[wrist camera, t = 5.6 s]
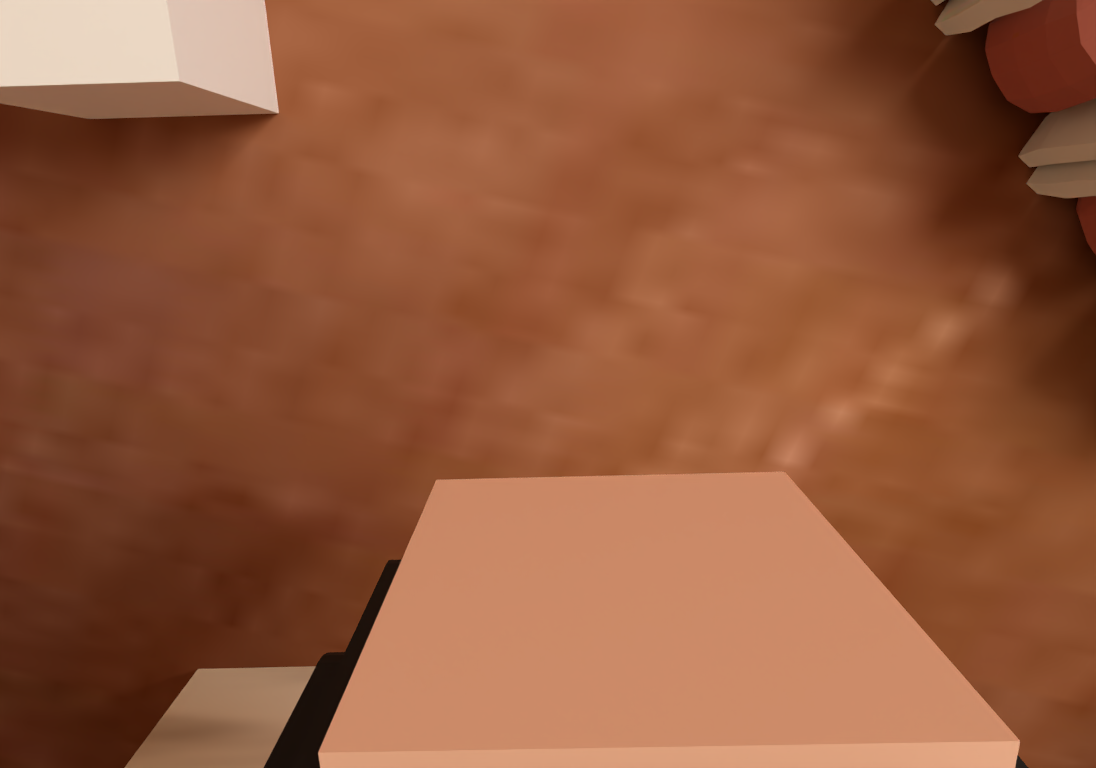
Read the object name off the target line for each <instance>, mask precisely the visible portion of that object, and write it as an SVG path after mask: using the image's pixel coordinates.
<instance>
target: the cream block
mask: <svg viewBox="0 0 1096 768" xmlns="http://www.w3.org/2000/svg"><path fill="white" fill-rule="evenodd" d="M0 103H1V104H7V105H12V106H18V107H24V108H29V109H35V110H40V111H46V112H52V113H57V114H63V115H69V116H74V117H80V118H85V119H110V118H143V117H176V116H209V115H243V114H276V113H279V111H278V103H277V95H276V87H275V79H274V71H273V63H272V55H271V47H270V40H269V32H268V24H267V16H266V8H265V0H0Z"/></svg>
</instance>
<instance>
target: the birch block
mask: <svg viewBox="0 0 1096 768" xmlns="http://www.w3.org/2000/svg"><path fill="white" fill-rule="evenodd" d="M315 667H316V666H309V667H265V668H220V669H198V670H197V671H196V672H195V674H194V675H193V676H192V678H191V679H190V680H189V682H188V683H187V684H186V686H185V687H184V688H183V690H182V691H181V692H180V694H179V695H178V696H177V698H176V699H175V700H174V702H173V703H172V704H171V706H170V707H169V708H168V710H167V711H166V712H165V714H164V715H163V717H162V718H161V719H160V721H159V722H158V723H157V725H156V726H155V727H154V729H153V730H152V731H151V733H150V734H149V735H148V737H147V738H146V739H145V741H144V742H143V743H142V745H141V746H140V747H139V749H138V750H137V751H136V753H135V754H134V755H133V757H132V758H131V759H130V761H129V762H128V763H127V765H126V766H125V768H264V766H265V764H266V762H267V760H268V758H269V756H270V754H271V752H272V750H273V748H274V746H275V744H276V743H277V741H278V739H279V737H280V735H281V733H282V731H283V729H284V727H285V725H286V723H287V721H288V719H289V717H290V716H291V714H292V712H293V710H294V708H295V706H296V704H297V702H298V700H299V698H300V696H301V694H302V692H303V690H304V688H305V687H306V685H307V683H308V681H309V679H310V677H311V675H312V673H313V671H314V669H315Z"/></svg>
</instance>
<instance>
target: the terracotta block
mask: <svg viewBox="0 0 1096 768" xmlns="http://www.w3.org/2000/svg"><path fill="white" fill-rule="evenodd" d="M1019 744H1020V740H1019V739H1018V738H1017V737H1016V736H1015V735H1014V734H1013V732H1012V731H1011V730H1010V729H1009V728H1008V727H1007V726H1006V724H1005V723H1004V722H1003V721H1002V720H1001V719H1000V718H999V716H998V715H997V714H996V713H995V712H994V711H993V710H992V708H991V707H990V706H989V705H988V704H987V703H986V702H985V700H984V699H983V698H982V697H981V696H980V695H979V694H978V692H977V691H976V690H975V689H974V688H973V687H972V686H971V684H970V683H969V682H968V681H967V680H966V679H965V678H964V676H963V675H962V674H961V673H960V672H959V671H958V670H957V668H956V667H955V666H954V665H953V664H952V663H951V662H950V660H949V659H948V658H947V657H946V656H945V655H944V654H943V652H942V651H941V650H940V649H939V648H938V647H937V646H936V644H935V643H934V642H933V641H932V640H931V639H930V638H929V636H928V635H927V634H926V633H925V632H924V631H923V630H922V628H921V627H920V626H919V625H918V624H917V623H916V622H915V620H914V619H913V618H912V617H911V616H910V615H909V614H908V612H907V611H906V610H905V609H904V608H903V607H902V606H901V604H900V603H899V602H898V601H897V600H896V599H895V598H894V596H893V595H892V594H891V593H890V592H889V591H888V589H887V588H886V587H885V586H884V585H883V584H882V583H881V581H880V580H879V579H878V578H877V577H876V576H875V575H874V573H873V572H872V571H871V570H870V569H869V568H868V567H867V565H866V564H865V563H864V562H863V561H862V560H861V559H860V557H859V556H858V555H857V554H856V553H855V552H854V551H853V549H852V548H851V547H850V546H849V545H848V544H847V543H846V541H845V540H844V539H843V538H842V537H841V536H840V535H839V533H838V532H837V531H836V530H835V529H834V528H833V527H832V525H831V524H830V523H829V522H828V521H827V520H826V519H825V517H824V516H823V515H822V514H821V513H820V512H819V511H818V509H817V508H816V507H815V506H814V505H813V504H812V503H811V501H810V500H809V499H808V498H807V497H806V496H805V495H804V493H803V492H802V491H801V490H800V489H799V488H798V487H797V485H796V484H795V483H794V482H793V481H792V480H791V479H790V477H789V476H788V475H787V474H786V473H785V472H752V473H709V474H666V475H622V476H579V477H536V478H493V479H450V480H436V482H435V484H434V487H433V489H432V491H431V494H430V496H429V498H428V500H427V503H426V505H425V507H424V510H423V512H422V514H421V517H420V519H419V521H418V524H417V526H416V528H415V530H414V533H413V535H412V537H411V540H410V542H409V544H408V547H407V549H406V551H405V554H404V556H403V558H402V560H401V563H400V565H399V567H398V570H397V572H396V574H395V577H394V579H393V581H392V583H391V586H390V588H389V590H388V593H387V595H386V597H385V600H384V602H383V604H382V607H381V609H380V611H379V613H378V616H377V618H376V620H375V623H374V625H373V627H372V630H371V632H370V634H369V637H368V639H367V641H366V643H365V646H364V648H363V650H362V653H361V655H360V657H359V660H358V662H357V664H356V667H355V669H354V671H353V673H352V676H351V678H350V680H349V683H348V685H347V687H346V690H345V692H344V694H343V697H342V699H341V701H340V703H339V706H338V708H337V710H336V713H335V715H334V717H333V720H332V722H331V724H330V727H329V729H328V731H327V733H326V736H325V738H324V740H323V743H322V745H321V747H320V750H319V752H318V755H319V762H320V768H1015V766H1016V760H1017V755H1018V749H1019Z"/></svg>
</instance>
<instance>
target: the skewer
mask: <svg viewBox="0 0 1096 768" xmlns="http://www.w3.org/2000/svg"><path fill="white" fill-rule="evenodd" d="M931 1H932V2H933V3H934V4H935V5H938V4H940V3H941V2H943V1H945V0H931ZM993 19H994V20H993ZM991 20H993V21H992V22H991V23H990V24H989V27H988V33H987V39H986V44H985V52H986V55H987V59H988V63H989V67H990V70H991V74H992V77H993V79H994V80H995V82H996V83H997V85H998V87H999V88H1000V90H1001V92H1002V93H1003V95H1004V96H1005V98H1006V100H1007V101H1009V102H1011V103H1012V104H1014V105H1016V106H1018V107H1019V108H1021V109H1023V110H1025V111H1026V112H1028V113H1044V112H1051V113H1049V114H1048V115H1047V116H1046V117H1045V118H1044V120H1043V121H1042V123H1041V124H1040V125H1039V127H1038V128H1037V130H1036V131H1035V132H1034V134H1033V135H1032V136H1031V138H1030V139H1029V141H1028V142H1027V143H1026V145H1025V146H1024V148H1023V149H1022V151H1021V152H1020V154H1019V155H1018V157H1019V158H1020V159H1021V160H1022V161H1023V162H1024V163H1025V164H1026V165H1027V166H1028V167H1036V166H1038V167H1037V168H1036V170H1035V171H1034V173H1033V174H1032V176H1031V177H1030V179H1029V180H1028V182H1027V183H1026V184H1027V185H1028V186H1029V187H1030V188H1031V189H1033V190H1034V191H1035V192H1036V193H1037V194H1041V195H1048V196H1054V197H1061V198H1076V197H1079V198H1078V202H1077V206H1076V211H1077V214H1078V217H1079V220H1080V223H1081V225H1082V228H1083V231H1084V234H1085V237H1086V240H1087V243H1088V245H1089V246H1090V248H1091V249H1092V250H1093V252H1094V253H1095V255H1096V0H949V2H948V3H947V5H946V6H945V8H944V10H943V11H942V13H941V14H940V16H939V18H938V19H937V21H936V23H935V26H936V27H937V28H938V29H940V30H941V31H942V32H943V33H944V34H945V35H952V34H959V33H966V32H971V31H973V30H975V29H976V28H978V27H980V26H982V25H984V24H986V23H988V22H990V21H991Z"/></svg>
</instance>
